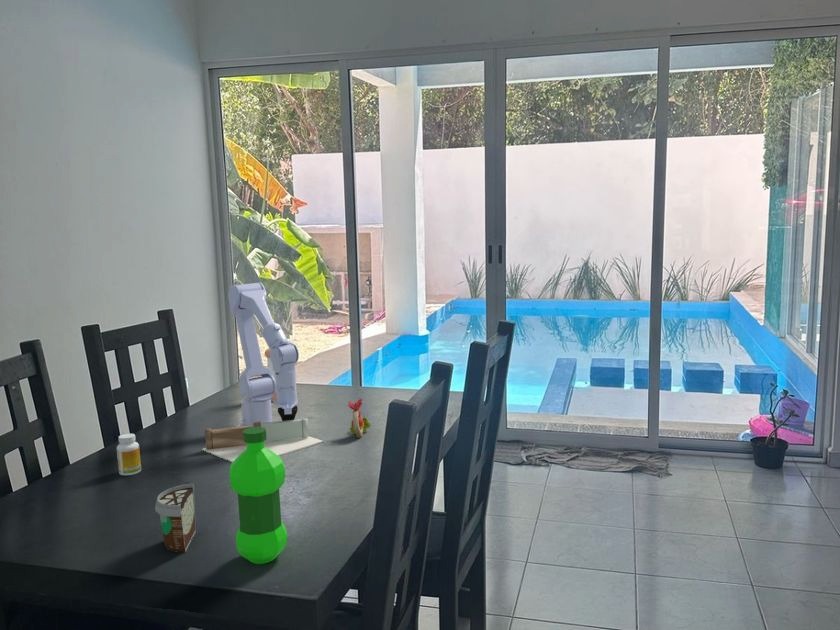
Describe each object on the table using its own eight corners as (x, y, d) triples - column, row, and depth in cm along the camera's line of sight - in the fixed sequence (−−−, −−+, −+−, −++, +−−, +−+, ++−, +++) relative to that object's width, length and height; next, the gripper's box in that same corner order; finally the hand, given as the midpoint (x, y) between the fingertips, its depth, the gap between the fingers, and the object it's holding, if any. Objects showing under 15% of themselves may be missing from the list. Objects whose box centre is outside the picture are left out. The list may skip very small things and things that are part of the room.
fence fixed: (206, 447, 203) (204, 427, 203) (261, 441, 207) (260, 421, 207) (206, 450, 202) (204, 429, 201) (262, 443, 206) (260, 423, 205)
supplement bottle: (146, 469, 188) (142, 433, 187) (129, 477, 184) (126, 439, 182) (130, 467, 191) (127, 431, 189) (114, 474, 186) (110, 437, 184)
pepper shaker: (263, 401, 253) (260, 347, 250) (271, 396, 260) (268, 343, 257) (283, 401, 252) (280, 347, 249) (291, 396, 259) (287, 343, 256)
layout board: (202, 450, 203) (202, 448, 203) (280, 428, 221) (280, 426, 221) (243, 467, 188) (243, 465, 188) (323, 442, 206) (323, 440, 206)
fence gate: (263, 440, 207) (262, 422, 207) (308, 435, 211) (307, 418, 210) (263, 442, 206) (262, 424, 205) (308, 437, 209) (308, 419, 208)
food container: (167, 530, 152) (163, 484, 150) (197, 528, 152) (193, 482, 151) (150, 558, 140) (146, 508, 138) (183, 555, 140) (179, 506, 139)
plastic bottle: (224, 566, 136) (214, 436, 132) (256, 541, 145) (247, 420, 142) (270, 574, 132) (261, 441, 128) (299, 548, 142) (292, 424, 138)
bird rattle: (370, 444, 210) (371, 423, 218) (368, 414, 204) (368, 394, 212) (349, 445, 210) (350, 424, 218) (346, 415, 204) (347, 395, 212)
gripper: (271, 381, 215) (274, 426, 217) (272, 393, 201) (275, 440, 203) (295, 379, 216) (298, 423, 218) (298, 391, 202) (300, 438, 204)
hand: (288, 432), depth 211 cm, fingers closed
